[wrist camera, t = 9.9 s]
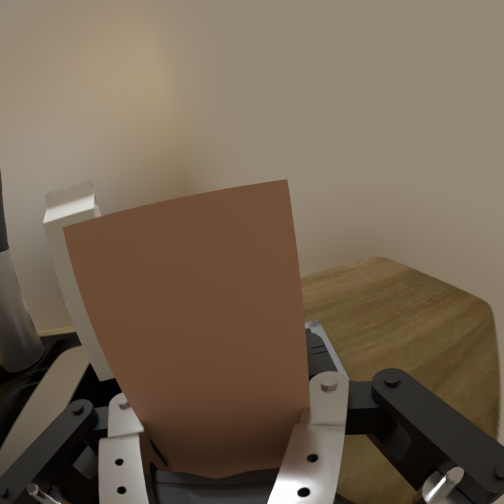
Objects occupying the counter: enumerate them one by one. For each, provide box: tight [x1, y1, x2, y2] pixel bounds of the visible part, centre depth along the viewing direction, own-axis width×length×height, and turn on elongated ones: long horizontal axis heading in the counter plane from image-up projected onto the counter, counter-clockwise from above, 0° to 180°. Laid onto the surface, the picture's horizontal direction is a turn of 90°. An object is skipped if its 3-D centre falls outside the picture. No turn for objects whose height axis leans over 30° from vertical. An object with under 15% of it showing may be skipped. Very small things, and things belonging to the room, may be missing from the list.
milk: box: [43, 181, 115, 381], centre depth 26 cm, size 6×6×22 cm
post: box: [63, 180, 310, 479], centre depth 9 cm, size 5×5×16 cm
